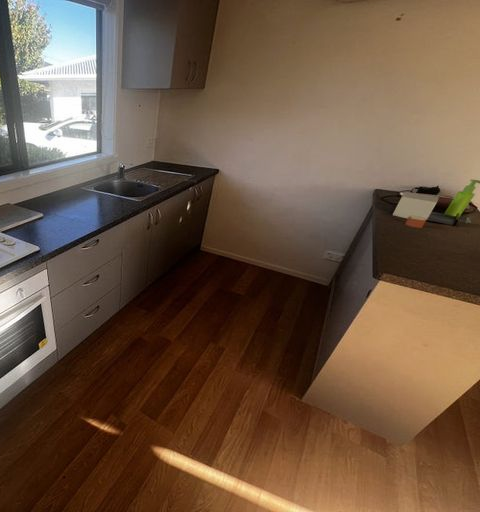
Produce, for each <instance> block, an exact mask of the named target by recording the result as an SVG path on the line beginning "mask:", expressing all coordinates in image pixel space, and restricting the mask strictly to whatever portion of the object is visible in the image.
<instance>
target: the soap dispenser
mask: <svg viewBox="0 0 480 512" xmlns="http://www.w3.org/2000/svg"><path fill="white" fill-rule="evenodd" d="M469 181H470V183H469V184H468V185H465V187H464V188H463V190H462V191H460V190H459V191H457V193H456V195H455V196H454V198H453V199H452V200H451V202H450V203H449V205H448V207H447V208H446V210H445V212H444V213H443V214H446V215H452V216H456V214H457V213H459V217H461V216H462V214H463V213H464V211H465V210H466V208H467V207H468V206H469V204H470V202H471V201H472V200H473V198H474V197H475V193H473V192H474V191H475V190H476V187H477V186H475V185H476V184H480V180H478V179H469Z"/></svg>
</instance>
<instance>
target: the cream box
mask: <svg viewBox="0 0 480 512" xmlns="http://www.w3.org/2000/svg"><path fill="white" fill-rule="evenodd" d="M439 199H440V196H436V195H429V194H422V193H416V192H411V191H405V192H404V193H403V195H402V196H401V198H400V200H399V201H398V203H397V205H396V207H395V209H394V211H393V213H392V216H395V217H400V218H404V219H408V217H409V216H419V217H423V218H425V219H428V217H429V215H430V213H431V212H433V210H434V208H435V206H436V205H437V203H438V202H439Z"/></svg>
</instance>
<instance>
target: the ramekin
mask: <svg viewBox="0 0 480 512" xmlns="http://www.w3.org/2000/svg"><path fill="white" fill-rule="evenodd" d="M427 221H428V220H427V219H425V218H423V217H419V216H409V217H408V218H406V221H405V222H404V224H405V225H406V226H408V227H413V228H420V229H421V228H423V227H424V225H425V224H426V222H427Z"/></svg>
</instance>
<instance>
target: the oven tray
mask: <svg viewBox="0 0 480 512" xmlns="http://www.w3.org/2000/svg"><path fill="white" fill-rule="evenodd" d="M471 220H472V218H471V217H463V216H460V217H459V213H457V214H456V216H452V215H446V214H444V213H440V212H436V211H432V212H431V213H430V215H429V217H428V219H427V220H426V221H429V222H434V223H440V224H445V225H451V226H453V227H455V226H456V225H457V224H458V222H459V223H465V224H466V225H469V224H471Z"/></svg>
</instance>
